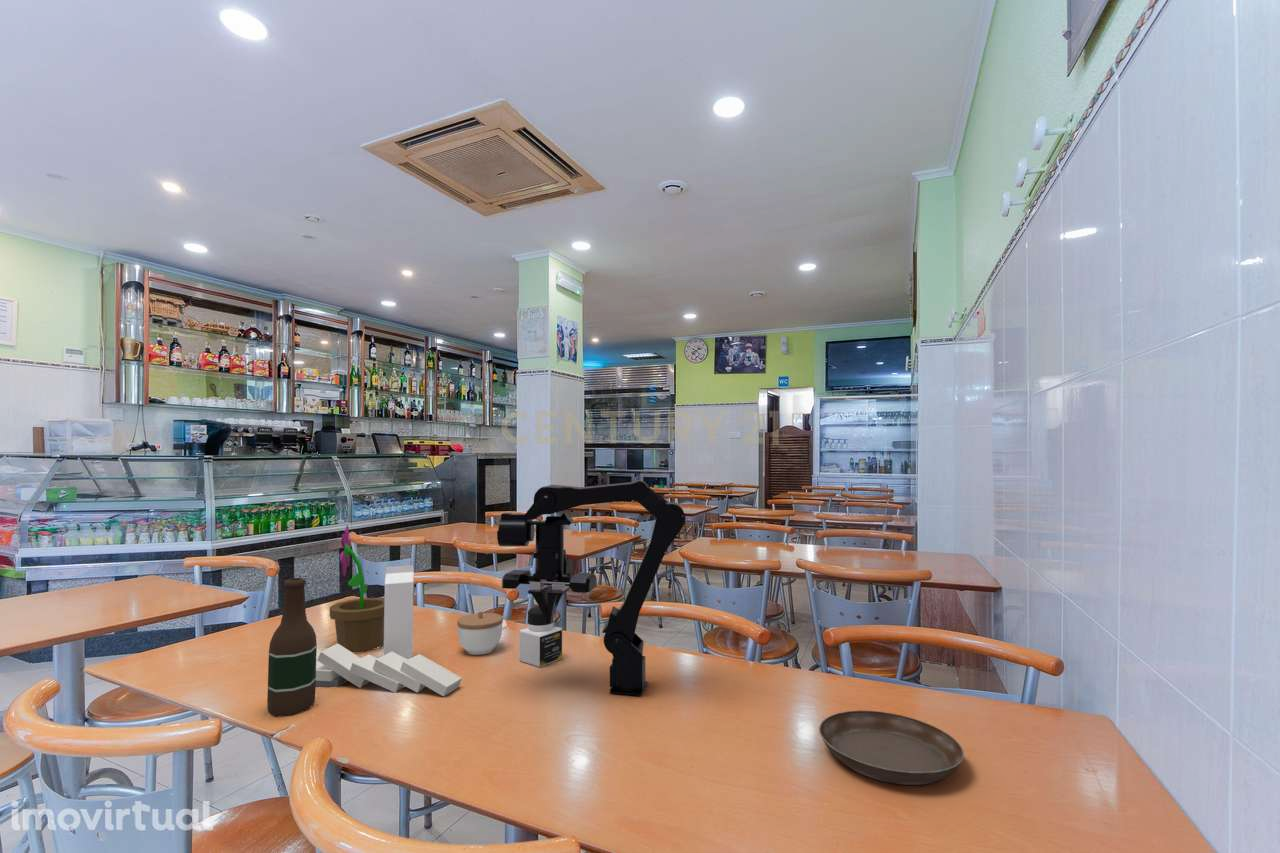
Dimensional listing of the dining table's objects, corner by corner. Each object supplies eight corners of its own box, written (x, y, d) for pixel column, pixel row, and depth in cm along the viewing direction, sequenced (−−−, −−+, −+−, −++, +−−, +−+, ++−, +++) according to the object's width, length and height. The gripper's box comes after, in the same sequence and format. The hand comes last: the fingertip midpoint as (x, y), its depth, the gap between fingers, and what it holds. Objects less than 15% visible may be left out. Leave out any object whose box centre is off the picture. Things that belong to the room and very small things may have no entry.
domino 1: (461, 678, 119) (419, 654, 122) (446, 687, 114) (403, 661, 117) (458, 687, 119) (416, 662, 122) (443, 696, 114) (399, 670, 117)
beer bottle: (293, 719, 104) (296, 584, 106) (256, 715, 106) (260, 582, 107) (324, 701, 112) (327, 575, 113) (290, 698, 114) (293, 574, 115)
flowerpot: (334, 640, 149) (337, 523, 151) (394, 635, 154) (396, 521, 155) (322, 658, 136) (325, 529, 137) (388, 652, 140) (390, 527, 142)
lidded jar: (454, 647, 144) (454, 609, 144) (497, 641, 148) (498, 604, 149) (460, 661, 134) (460, 619, 134) (506, 654, 138) (507, 614, 139)
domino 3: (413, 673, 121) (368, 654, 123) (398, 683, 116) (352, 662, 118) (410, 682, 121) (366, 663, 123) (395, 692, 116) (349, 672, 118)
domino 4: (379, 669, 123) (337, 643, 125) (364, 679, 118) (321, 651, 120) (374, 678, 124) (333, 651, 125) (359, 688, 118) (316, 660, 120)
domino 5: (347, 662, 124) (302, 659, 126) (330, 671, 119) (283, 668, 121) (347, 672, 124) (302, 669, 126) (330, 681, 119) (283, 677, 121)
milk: (384, 661, 134) (386, 565, 135) (412, 657, 136) (413, 563, 137) (383, 670, 128) (384, 569, 130) (412, 666, 130) (413, 567, 132)
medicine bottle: (540, 668, 129) (540, 613, 130) (518, 661, 134) (518, 608, 134) (562, 659, 135) (562, 606, 136) (541, 652, 139) (541, 602, 140)
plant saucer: (846, 716, 105) (846, 698, 105) (976, 753, 92) (975, 732, 92) (798, 763, 89) (797, 740, 89) (946, 815, 76) (945, 789, 76)
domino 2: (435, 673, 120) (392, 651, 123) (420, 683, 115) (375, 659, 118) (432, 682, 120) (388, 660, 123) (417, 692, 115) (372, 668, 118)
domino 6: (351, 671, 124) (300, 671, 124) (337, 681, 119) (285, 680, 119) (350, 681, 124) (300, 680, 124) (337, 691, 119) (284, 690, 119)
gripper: (604, 542, 125) (604, 615, 124) (523, 539, 129) (523, 610, 128) (588, 550, 114) (588, 630, 114) (501, 547, 118) (500, 624, 118)
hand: (549, 623), depth 119 cm, fingers closed
